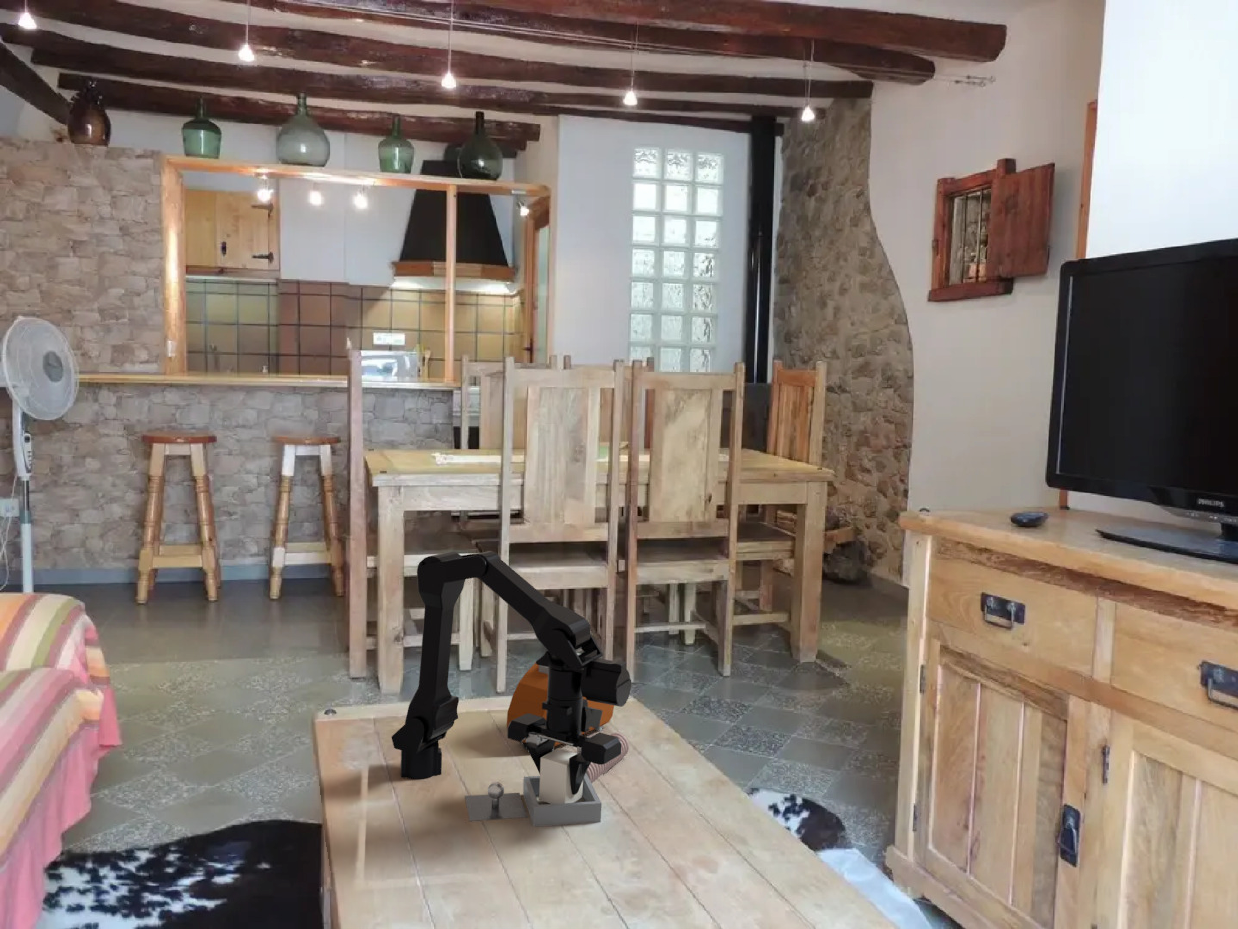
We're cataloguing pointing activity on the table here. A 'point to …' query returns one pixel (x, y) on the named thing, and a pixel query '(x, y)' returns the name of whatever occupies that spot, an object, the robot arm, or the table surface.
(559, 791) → the cream rectangular block
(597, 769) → the coil
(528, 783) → the bin
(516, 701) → the orange grey rounded block
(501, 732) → the table surface
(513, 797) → the stud plate
